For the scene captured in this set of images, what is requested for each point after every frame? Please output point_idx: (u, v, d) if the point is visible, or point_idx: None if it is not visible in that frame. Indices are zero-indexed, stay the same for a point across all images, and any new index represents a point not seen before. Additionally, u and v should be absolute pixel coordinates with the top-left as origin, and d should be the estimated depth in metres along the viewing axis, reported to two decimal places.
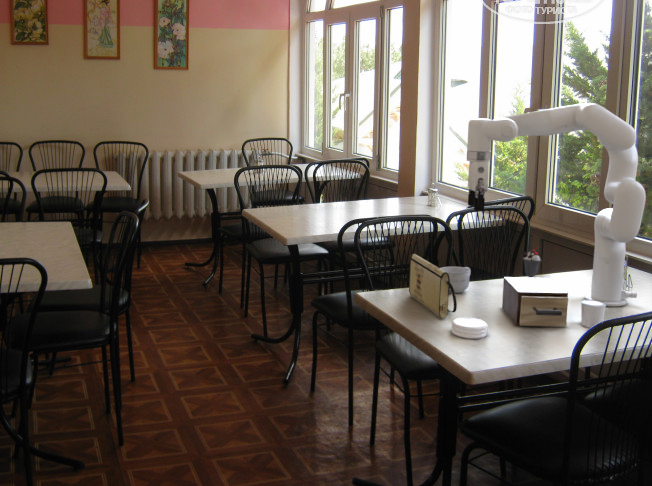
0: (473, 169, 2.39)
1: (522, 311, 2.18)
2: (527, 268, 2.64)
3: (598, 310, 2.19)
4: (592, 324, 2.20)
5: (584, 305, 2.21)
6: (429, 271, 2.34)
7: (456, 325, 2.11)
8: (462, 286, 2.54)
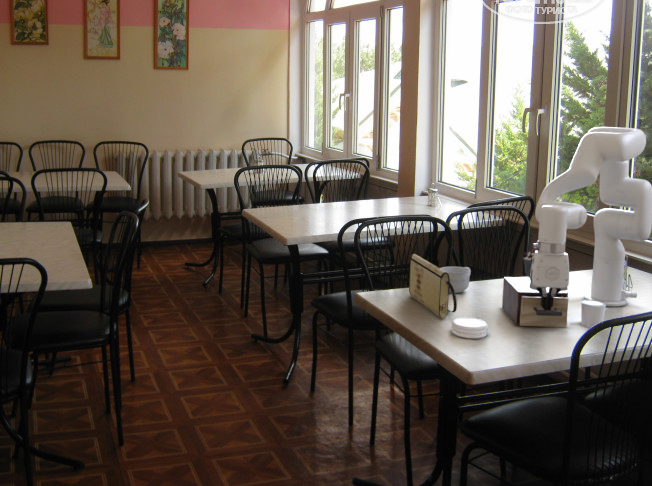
0: None
1: (522, 311, 2.18)
2: (527, 268, 2.64)
3: (598, 310, 2.19)
4: (592, 324, 2.20)
5: (584, 305, 2.21)
6: (429, 271, 2.34)
7: (456, 325, 2.11)
8: (462, 286, 2.54)
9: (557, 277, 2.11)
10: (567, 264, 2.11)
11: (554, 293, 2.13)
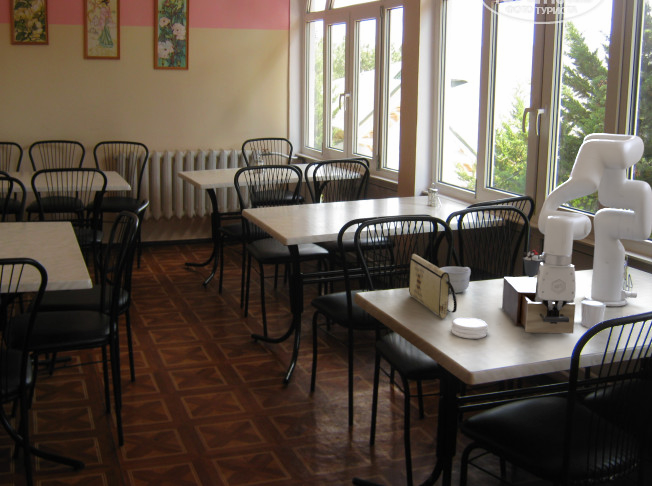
0: None
1: (528, 318, 2.12)
2: (527, 268, 2.64)
3: (598, 310, 2.19)
4: (592, 324, 2.20)
5: (584, 305, 2.21)
6: (429, 271, 2.34)
7: (456, 325, 2.11)
8: (462, 286, 2.54)
9: (563, 290, 2.06)
10: (573, 276, 2.05)
11: (560, 306, 2.08)
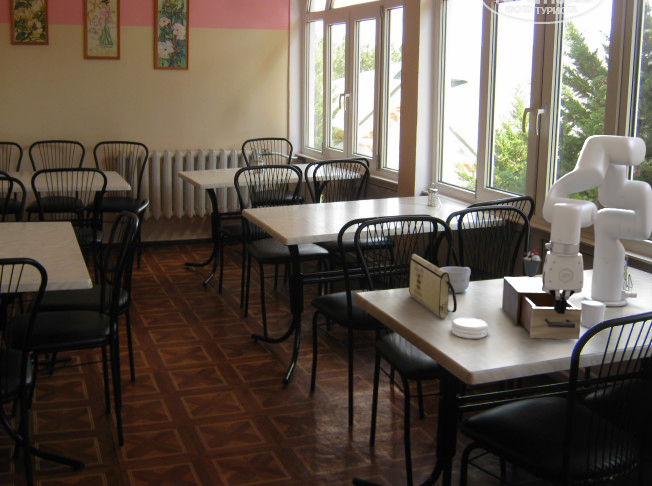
0: None
1: (533, 323, 2.07)
2: (527, 268, 2.64)
3: (598, 310, 2.19)
4: (592, 324, 2.20)
5: (584, 305, 2.21)
6: (429, 271, 2.34)
7: (456, 325, 2.11)
8: (462, 286, 2.54)
9: (571, 279, 2.00)
10: (581, 265, 2.00)
11: (567, 296, 2.03)
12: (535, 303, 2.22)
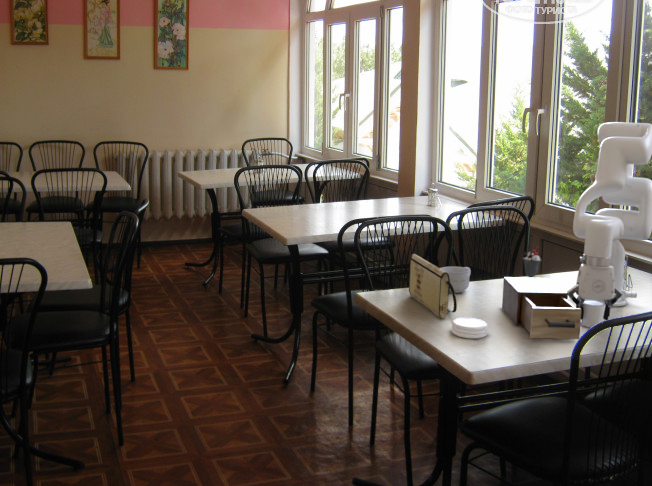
0: None
1: (533, 323, 2.07)
2: (527, 268, 2.64)
3: (598, 310, 2.19)
4: (592, 324, 2.20)
5: (584, 305, 2.21)
6: (429, 271, 2.34)
7: (456, 325, 2.11)
8: (462, 286, 2.54)
9: (603, 290, 2.18)
10: (612, 277, 2.18)
11: (610, 304, 2.21)
12: (535, 303, 2.22)
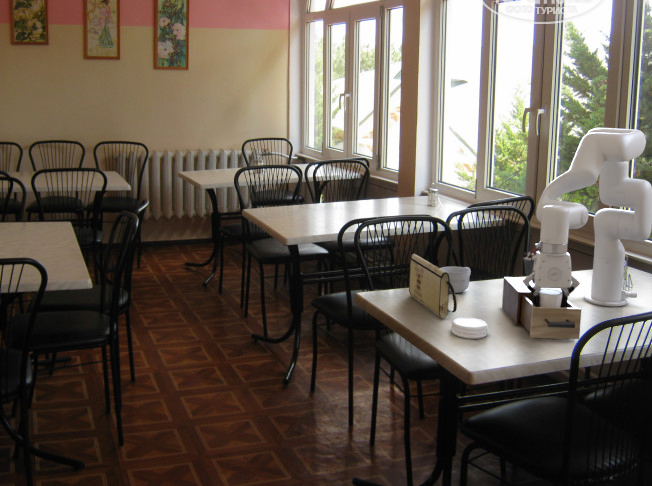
0: None
1: (533, 323, 2.07)
2: (527, 268, 2.64)
3: (554, 299, 2.10)
4: None
5: (540, 294, 2.12)
6: (429, 271, 2.34)
7: (456, 325, 2.11)
8: (462, 286, 2.54)
9: (559, 278, 2.09)
10: (569, 264, 2.09)
11: (567, 292, 2.12)
12: None
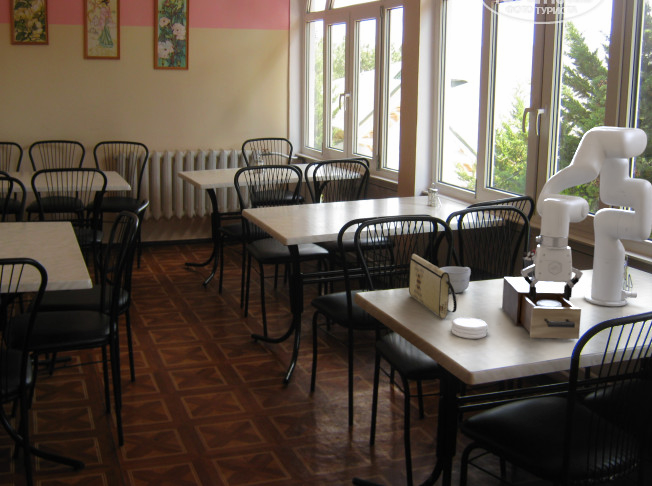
0: None
1: (533, 323, 2.08)
2: None
3: None
4: None
5: (539, 306, 2.12)
6: (429, 271, 2.34)
7: (456, 325, 2.11)
8: (462, 286, 2.54)
9: (560, 271, 2.09)
10: (570, 258, 2.09)
11: (571, 284, 2.11)
12: (535, 303, 2.23)
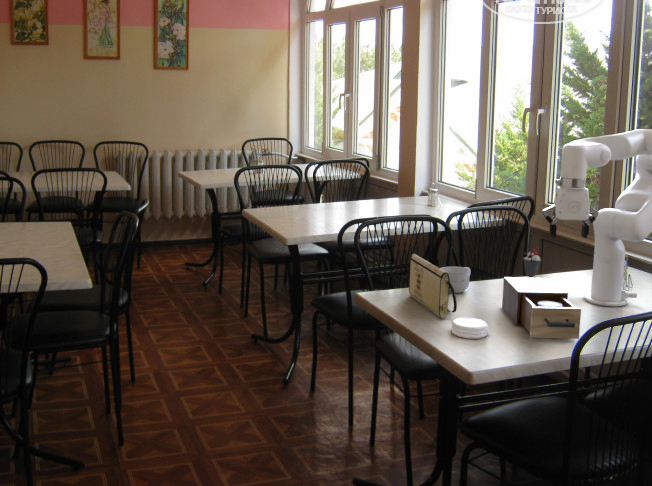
0: None
1: (533, 323, 2.08)
2: (527, 268, 2.64)
3: None
4: None
5: (540, 306, 2.13)
6: (429, 271, 2.34)
7: (456, 325, 2.11)
8: (462, 286, 2.54)
9: (578, 210, 2.29)
10: (587, 198, 2.28)
11: (588, 222, 2.31)
12: (535, 303, 2.23)
